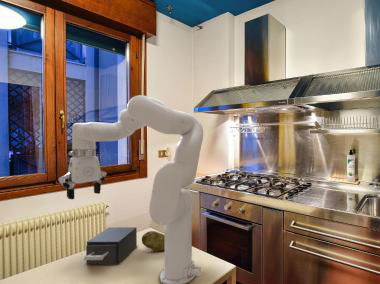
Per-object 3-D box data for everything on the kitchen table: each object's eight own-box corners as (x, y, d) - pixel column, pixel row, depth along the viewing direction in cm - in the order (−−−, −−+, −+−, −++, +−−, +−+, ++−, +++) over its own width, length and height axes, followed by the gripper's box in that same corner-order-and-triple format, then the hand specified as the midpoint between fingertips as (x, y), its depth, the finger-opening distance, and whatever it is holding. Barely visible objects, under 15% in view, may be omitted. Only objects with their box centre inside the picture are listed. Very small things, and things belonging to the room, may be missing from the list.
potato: (165, 255, 97) (165, 236, 97) (138, 252, 99) (138, 234, 99) (175, 246, 106) (175, 229, 105) (149, 244, 108) (149, 227, 107)
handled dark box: (108, 270, 84) (108, 251, 84) (77, 271, 84) (77, 251, 84) (132, 247, 102) (132, 231, 102) (107, 247, 102) (107, 231, 102)
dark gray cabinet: (118, 264, 90) (118, 241, 90) (87, 264, 90) (86, 241, 90) (136, 246, 105) (136, 227, 105) (109, 246, 105) (109, 227, 104)
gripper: (64, 155, 82) (64, 202, 82) (111, 152, 98) (111, 192, 98) (53, 154, 85) (53, 200, 85) (100, 152, 101) (100, 190, 101)
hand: (84, 195), depth 92 cm, fingers open, 9 cm apart
